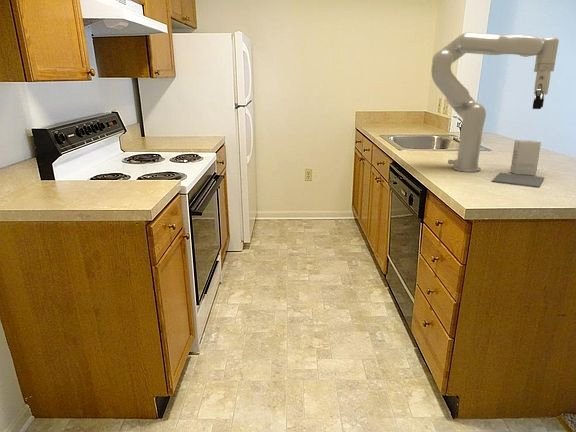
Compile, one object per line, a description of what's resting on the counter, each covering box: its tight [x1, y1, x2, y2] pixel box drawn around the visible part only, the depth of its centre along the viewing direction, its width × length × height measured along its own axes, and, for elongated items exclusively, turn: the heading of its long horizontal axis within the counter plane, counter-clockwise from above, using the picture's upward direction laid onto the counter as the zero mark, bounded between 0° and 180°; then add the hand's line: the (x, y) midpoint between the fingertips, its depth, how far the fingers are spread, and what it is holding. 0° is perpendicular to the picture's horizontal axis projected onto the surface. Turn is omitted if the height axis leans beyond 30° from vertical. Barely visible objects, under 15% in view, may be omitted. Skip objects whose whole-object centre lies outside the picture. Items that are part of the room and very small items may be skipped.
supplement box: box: [509, 139, 542, 176], centre depth 191 cm, size 9×9×15 cm
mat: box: [491, 172, 545, 188], centre depth 181 cm, size 18×19×1 cm
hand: (537, 108), depth 187 cm, fingers open, 9 cm apart
